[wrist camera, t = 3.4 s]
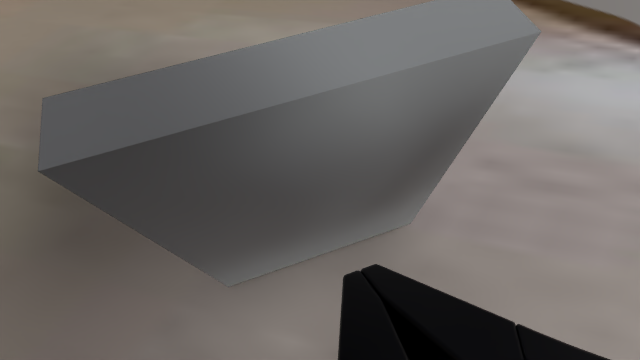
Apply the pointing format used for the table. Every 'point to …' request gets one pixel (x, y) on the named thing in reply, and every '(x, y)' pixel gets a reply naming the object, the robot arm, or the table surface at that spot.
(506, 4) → the grey tile
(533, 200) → the table surface
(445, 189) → the table surface
